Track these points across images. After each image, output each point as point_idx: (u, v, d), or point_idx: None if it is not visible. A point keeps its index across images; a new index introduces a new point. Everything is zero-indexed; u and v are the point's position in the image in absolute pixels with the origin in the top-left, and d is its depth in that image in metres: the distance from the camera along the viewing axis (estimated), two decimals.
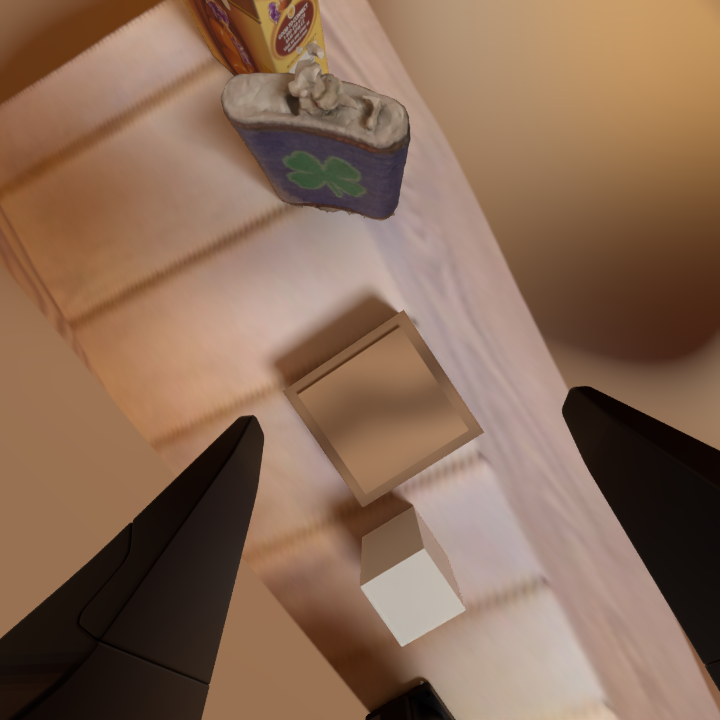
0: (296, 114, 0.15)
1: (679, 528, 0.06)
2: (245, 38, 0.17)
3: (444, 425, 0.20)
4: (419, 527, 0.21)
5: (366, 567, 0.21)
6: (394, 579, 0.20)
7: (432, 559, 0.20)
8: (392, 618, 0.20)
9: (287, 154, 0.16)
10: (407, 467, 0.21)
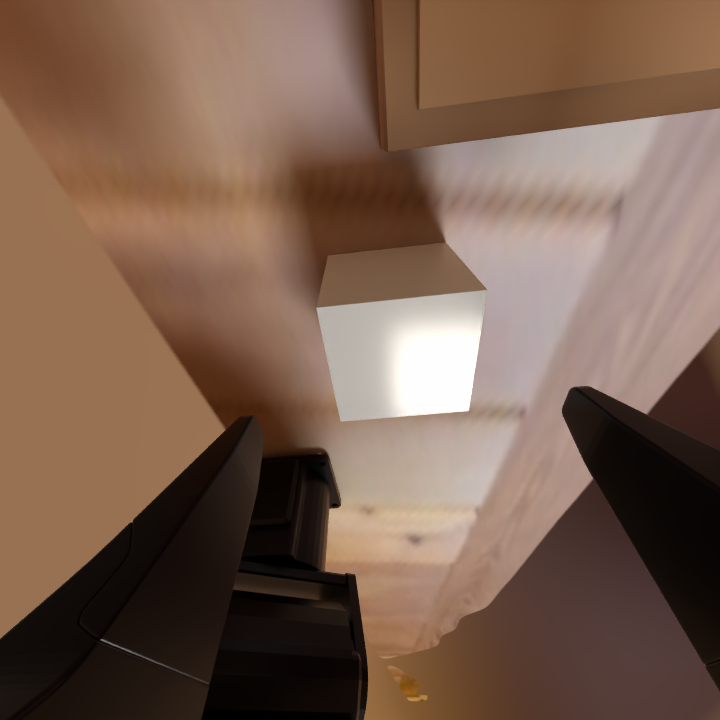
0: None
1: (679, 528, 0.06)
2: None
3: None
4: (464, 265, 0.10)
5: (335, 287, 0.10)
6: (392, 322, 0.09)
7: None
8: (350, 381, 0.11)
9: None
10: (563, 87, 0.07)
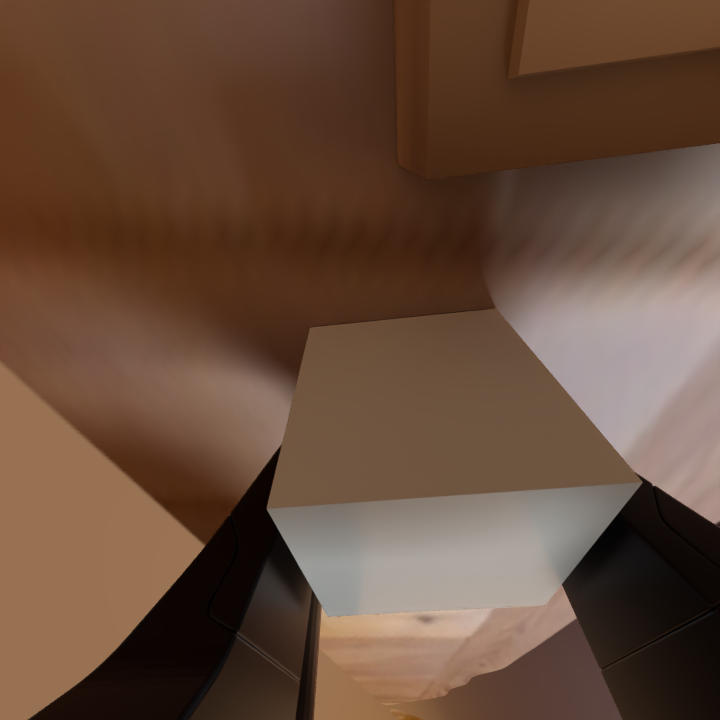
0: None
1: None
2: None
3: None
4: (553, 378, 0.06)
5: (312, 430, 0.05)
6: (426, 524, 0.04)
7: None
8: (342, 584, 0.06)
9: None
10: None
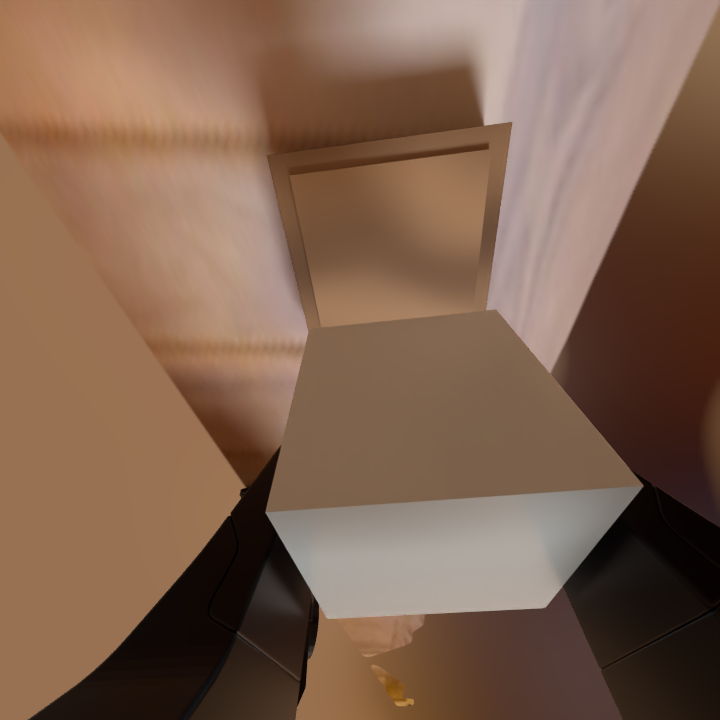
0: None
1: None
2: None
3: (451, 312, 0.16)
4: (553, 380, 0.06)
5: (312, 432, 0.05)
6: (426, 528, 0.04)
7: None
8: (341, 586, 0.06)
9: None
10: None
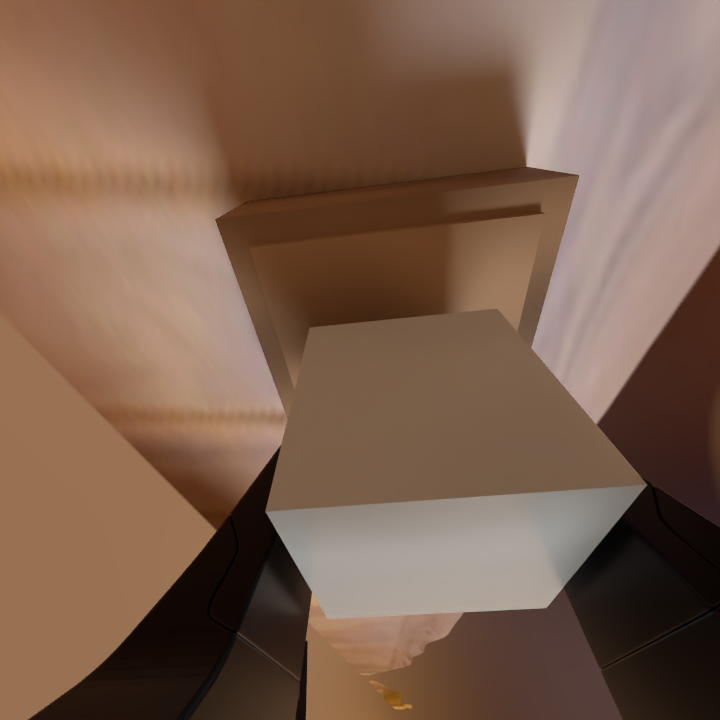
0: None
1: None
2: None
3: None
4: (555, 379, 0.06)
5: (312, 431, 0.05)
6: (427, 527, 0.04)
7: None
8: (342, 586, 0.06)
9: None
10: None
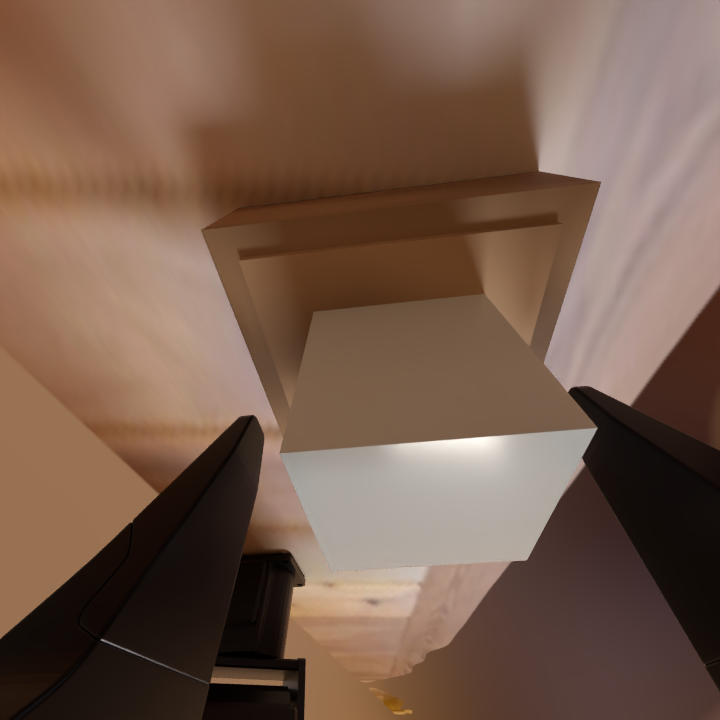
0: None
1: (679, 528, 0.06)
2: None
3: None
4: (530, 351, 0.06)
5: (317, 394, 0.06)
6: (416, 470, 0.05)
7: None
8: (343, 534, 0.07)
9: None
10: None
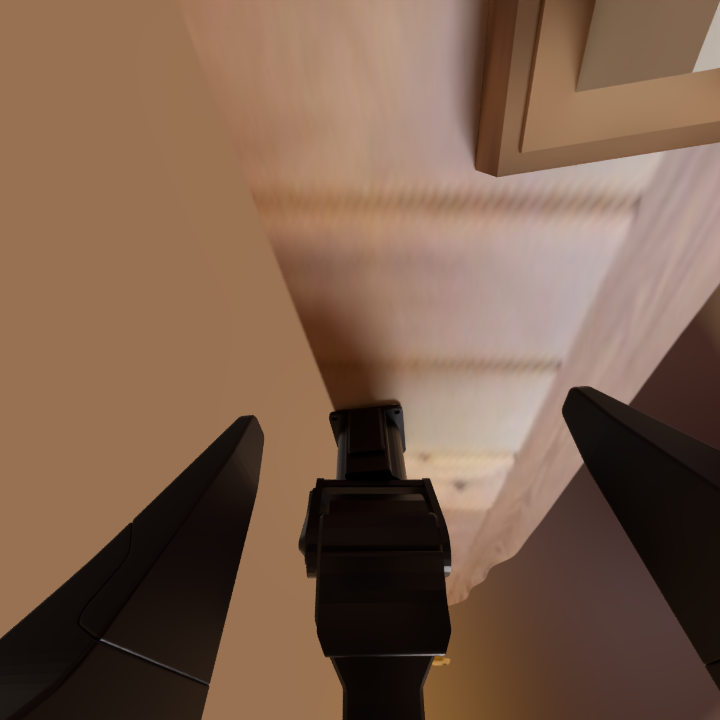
0: None
1: (679, 528, 0.06)
2: None
3: None
4: None
5: None
6: None
7: None
8: None
9: None
10: (608, 137, 0.12)
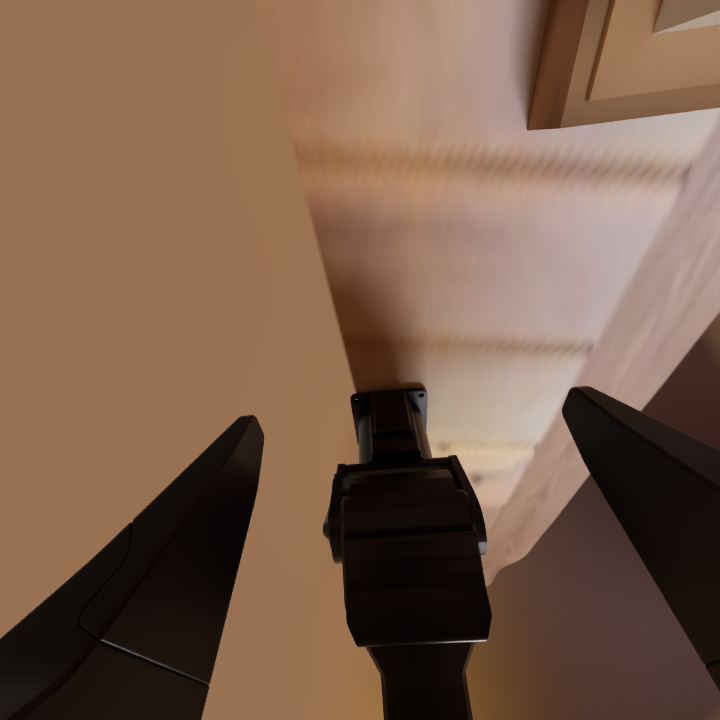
0: None
1: (679, 528, 0.06)
2: None
3: None
4: None
5: None
6: None
7: None
8: None
9: None
10: (679, 87, 0.12)
